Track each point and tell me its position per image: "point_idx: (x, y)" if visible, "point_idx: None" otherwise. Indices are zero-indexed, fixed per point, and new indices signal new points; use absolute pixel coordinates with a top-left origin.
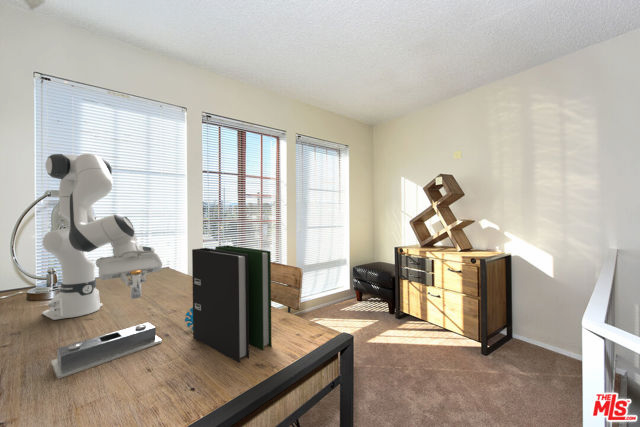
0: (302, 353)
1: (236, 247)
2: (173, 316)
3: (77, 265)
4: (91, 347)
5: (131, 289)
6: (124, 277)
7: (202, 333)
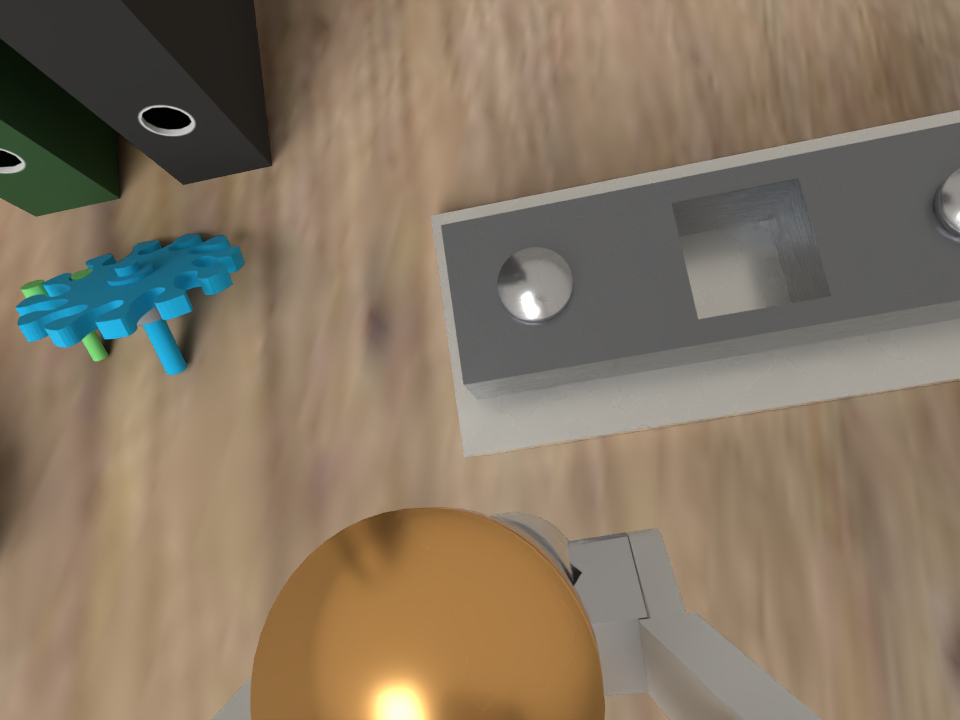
0: None
1: None
2: None
3: None
4: (864, 143)
5: None
6: (745, 673)
7: (230, 22)
